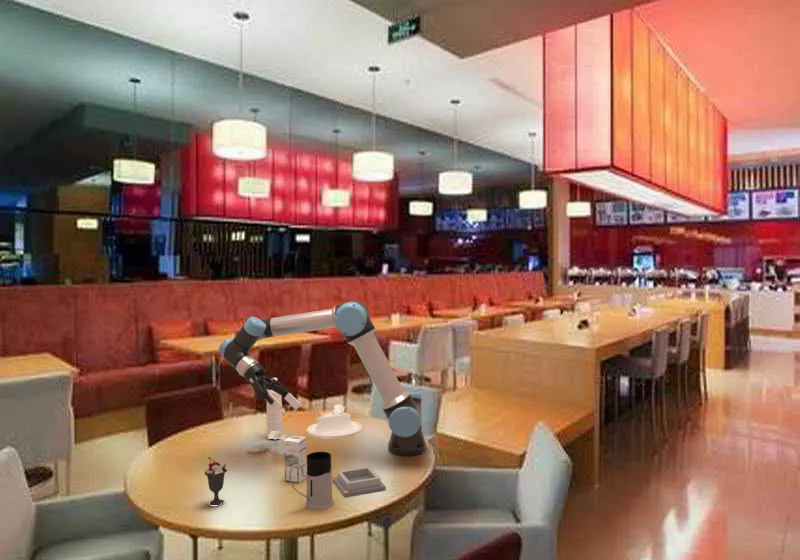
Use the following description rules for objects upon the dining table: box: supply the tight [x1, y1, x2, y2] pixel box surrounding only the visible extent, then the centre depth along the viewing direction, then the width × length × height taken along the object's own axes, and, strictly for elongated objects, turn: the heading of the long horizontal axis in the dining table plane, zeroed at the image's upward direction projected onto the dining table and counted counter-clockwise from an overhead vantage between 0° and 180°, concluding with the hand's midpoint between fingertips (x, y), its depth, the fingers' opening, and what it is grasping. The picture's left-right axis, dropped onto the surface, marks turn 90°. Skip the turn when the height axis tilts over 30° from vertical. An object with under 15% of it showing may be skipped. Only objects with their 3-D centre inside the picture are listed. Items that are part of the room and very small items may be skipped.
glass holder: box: [289, 451, 335, 511], centre depth 172 cm, size 9×14×15 cm, turn 125°
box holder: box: [332, 466, 387, 498], centre depth 187 cm, size 14×14×4 cm
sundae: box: [204, 456, 228, 506], centre depth 174 cm, size 7×7×15 cm
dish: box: [306, 403, 363, 440], centre depth 250 cm, size 25×25×11 cm
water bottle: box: [266, 377, 283, 437], centre depth 240 cm, size 9×6×25 cm
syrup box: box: [283, 435, 307, 484], centre depth 193 cm, size 6×6×14 cm
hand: (289, 407), depth 201 cm, fingers open, 13 cm apart
